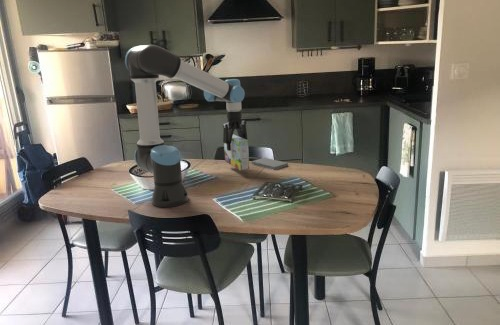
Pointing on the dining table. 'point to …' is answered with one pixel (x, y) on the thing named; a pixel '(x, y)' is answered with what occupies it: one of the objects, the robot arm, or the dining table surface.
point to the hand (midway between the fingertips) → (236, 154)
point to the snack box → (238, 153)
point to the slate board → (269, 163)
